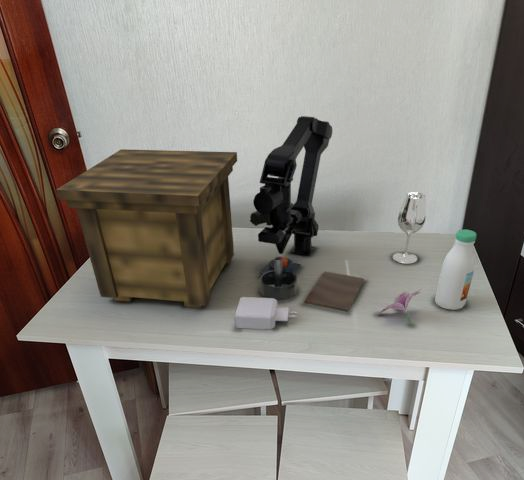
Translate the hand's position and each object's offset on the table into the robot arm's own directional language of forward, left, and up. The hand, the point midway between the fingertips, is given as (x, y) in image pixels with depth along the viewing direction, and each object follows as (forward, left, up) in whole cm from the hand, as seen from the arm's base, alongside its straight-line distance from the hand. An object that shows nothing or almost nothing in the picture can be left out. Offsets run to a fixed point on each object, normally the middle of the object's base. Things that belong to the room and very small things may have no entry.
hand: (280, 253), depth 139 cm
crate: (+17, -28, -6) cm, 33 cm away
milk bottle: (0, +49, -6) cm, 49 cm away
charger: (+26, +7, -6) cm, 28 cm away
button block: (0, 0, -6) cm, 6 cm away
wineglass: (-22, +33, -6) cm, 40 cm away
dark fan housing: (+12, +4, -6) cm, 14 cm away
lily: (+12, +38, -6) cm, 40 cm away
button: (0, 0, -4) cm, 4 cm away
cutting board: (+6, +19, -6) cm, 21 cm away
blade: (+12, +4, -6) cm, 13 cm away
